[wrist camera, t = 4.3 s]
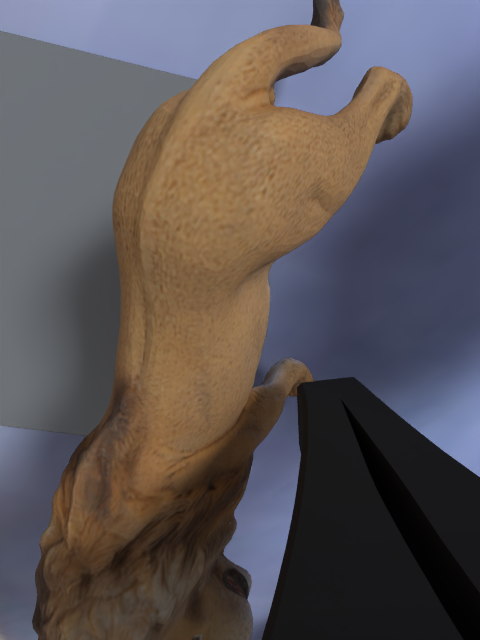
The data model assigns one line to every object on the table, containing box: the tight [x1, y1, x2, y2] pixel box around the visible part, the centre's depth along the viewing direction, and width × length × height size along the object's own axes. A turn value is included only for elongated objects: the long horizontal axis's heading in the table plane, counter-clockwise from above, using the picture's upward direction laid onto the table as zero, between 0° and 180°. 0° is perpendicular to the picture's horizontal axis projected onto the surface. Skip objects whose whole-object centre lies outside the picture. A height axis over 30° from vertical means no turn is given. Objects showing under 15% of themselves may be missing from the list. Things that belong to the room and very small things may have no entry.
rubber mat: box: [0, 31, 197, 436], centre depth 12 cm, size 8×13×1 cm, turn 168°
